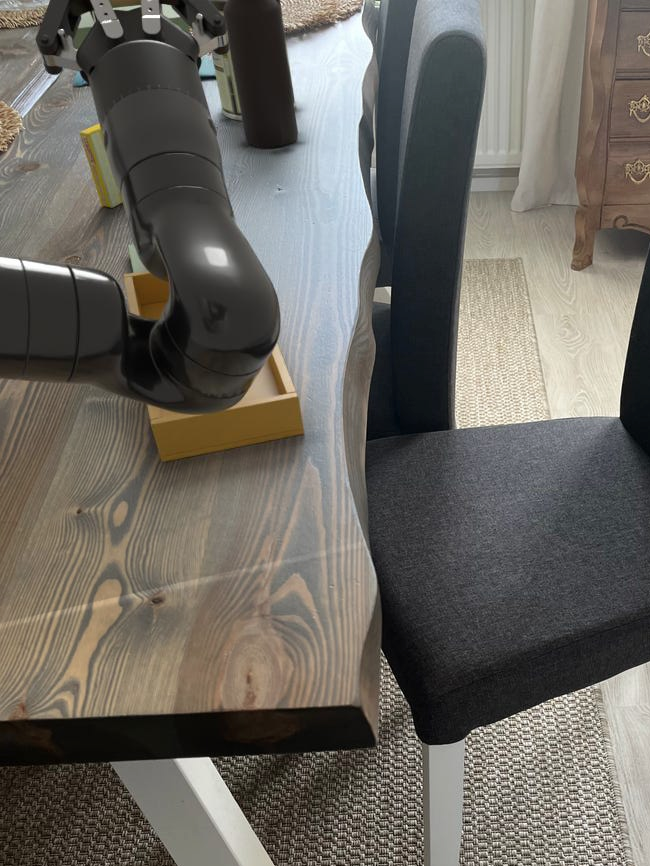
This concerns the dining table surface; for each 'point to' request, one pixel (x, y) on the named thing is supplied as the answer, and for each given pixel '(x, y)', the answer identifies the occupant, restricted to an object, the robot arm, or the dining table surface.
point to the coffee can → (231, 74)
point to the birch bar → (124, 3)
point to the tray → (237, 426)
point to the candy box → (100, 167)
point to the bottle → (261, 72)
